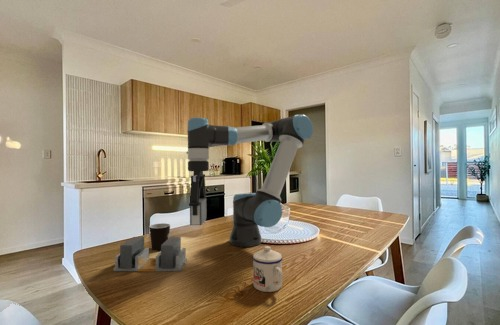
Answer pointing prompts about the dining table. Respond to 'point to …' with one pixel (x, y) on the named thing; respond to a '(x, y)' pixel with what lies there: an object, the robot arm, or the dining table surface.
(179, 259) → the rack
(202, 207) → the grey rectangular block
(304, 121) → the robot arm
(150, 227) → the coffee mug
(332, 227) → the dining table surface
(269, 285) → the teacup with lid
